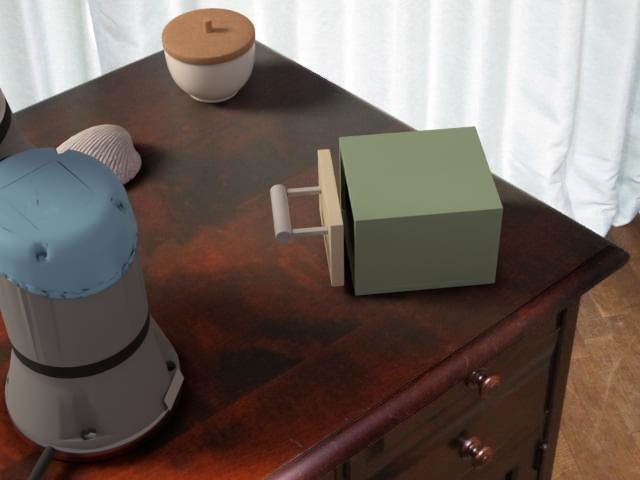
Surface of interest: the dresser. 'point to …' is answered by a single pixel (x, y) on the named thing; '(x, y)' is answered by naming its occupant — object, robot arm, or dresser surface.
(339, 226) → the drawer
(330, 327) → the dresser surface
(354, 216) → the cabinet
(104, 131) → the seashell
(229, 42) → the trinket box
